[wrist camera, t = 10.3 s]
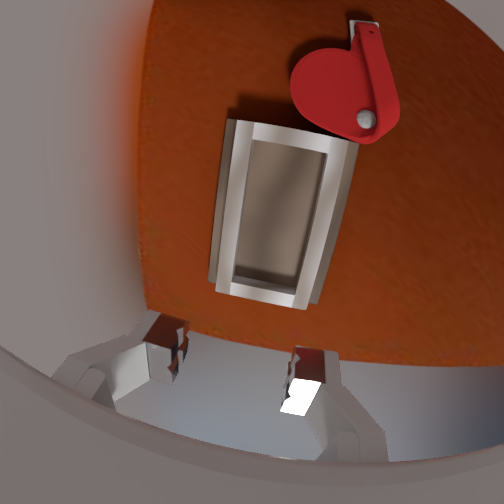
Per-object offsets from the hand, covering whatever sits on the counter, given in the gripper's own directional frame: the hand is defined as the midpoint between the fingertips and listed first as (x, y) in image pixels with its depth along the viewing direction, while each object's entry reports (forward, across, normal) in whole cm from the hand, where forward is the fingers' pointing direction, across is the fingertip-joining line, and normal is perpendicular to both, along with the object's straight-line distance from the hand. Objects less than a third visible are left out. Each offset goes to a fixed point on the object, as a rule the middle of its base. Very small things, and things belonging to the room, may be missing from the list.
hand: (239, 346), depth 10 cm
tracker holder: (+18, -1, -16) cm, 25 cm away
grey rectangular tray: (+20, 0, +1) cm, 20 cm away
